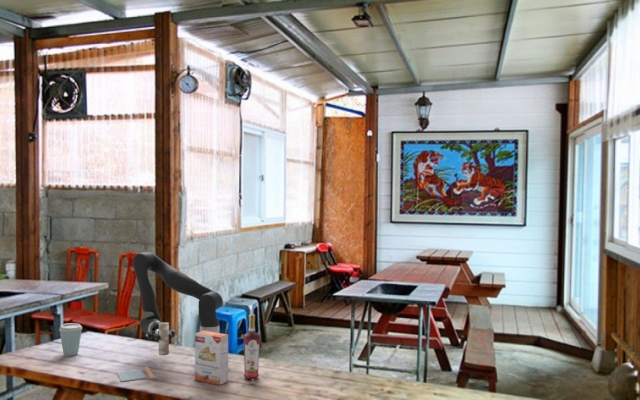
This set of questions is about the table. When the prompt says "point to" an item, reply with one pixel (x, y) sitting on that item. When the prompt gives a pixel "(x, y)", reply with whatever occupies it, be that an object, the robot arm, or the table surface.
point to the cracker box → (211, 357)
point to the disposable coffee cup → (70, 338)
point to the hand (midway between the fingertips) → (164, 337)
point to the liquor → (251, 350)
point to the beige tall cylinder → (164, 338)
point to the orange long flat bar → (149, 373)
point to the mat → (130, 375)
